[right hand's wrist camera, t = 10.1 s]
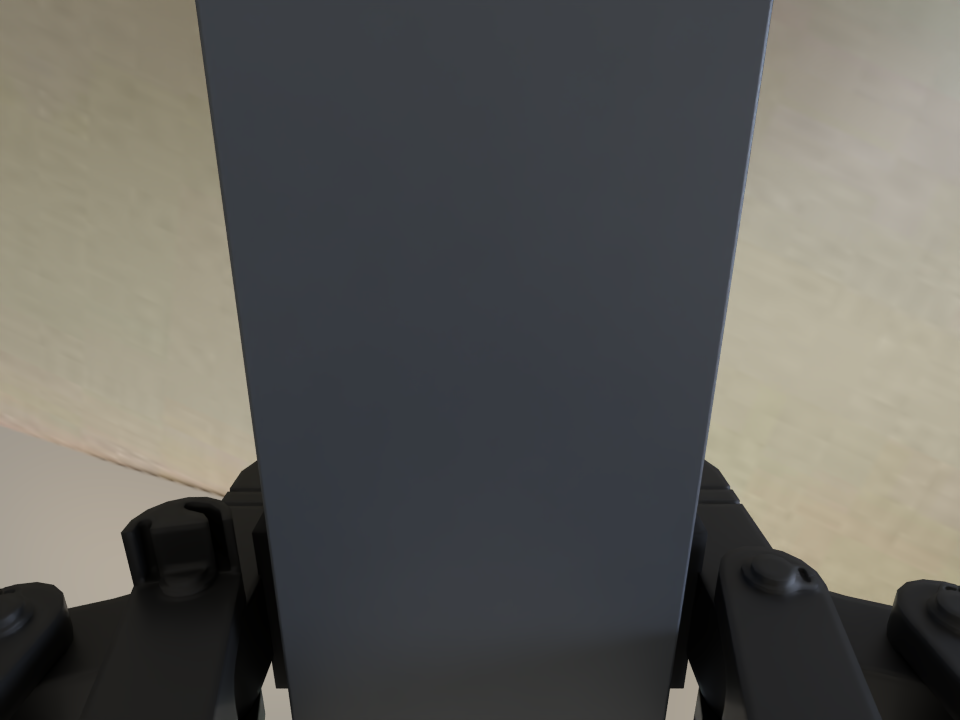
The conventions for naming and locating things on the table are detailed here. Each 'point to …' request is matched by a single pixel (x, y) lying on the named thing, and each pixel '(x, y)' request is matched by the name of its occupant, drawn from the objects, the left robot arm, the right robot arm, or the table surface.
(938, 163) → the table surface
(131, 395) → the table surface
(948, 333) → the table surface
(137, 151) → the table surface
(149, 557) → the right robot arm
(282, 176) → the post
